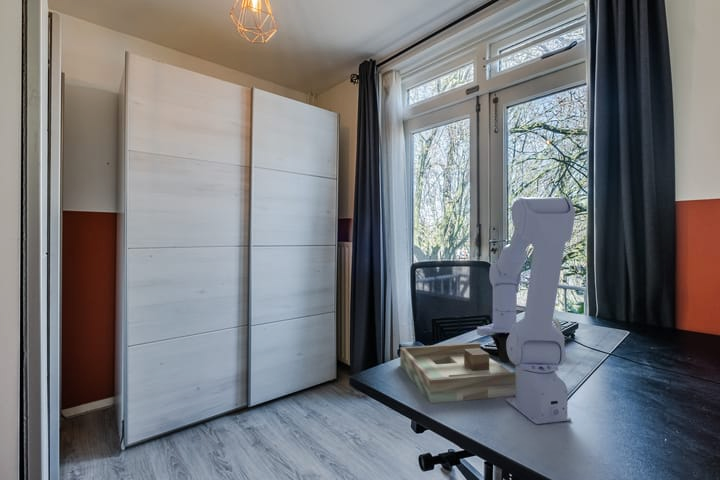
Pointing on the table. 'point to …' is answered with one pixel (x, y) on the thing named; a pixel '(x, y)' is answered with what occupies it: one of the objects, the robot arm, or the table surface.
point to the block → (476, 359)
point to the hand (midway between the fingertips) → (504, 361)
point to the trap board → (454, 374)
